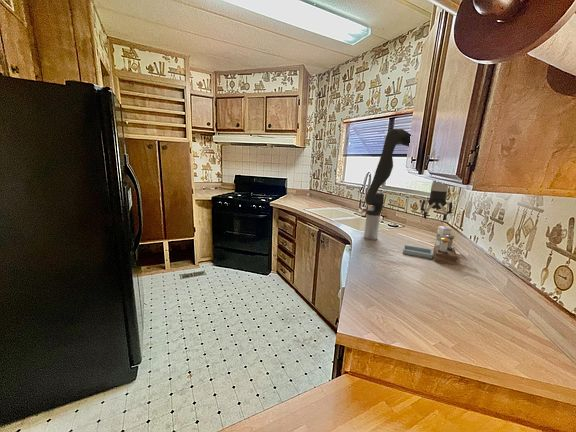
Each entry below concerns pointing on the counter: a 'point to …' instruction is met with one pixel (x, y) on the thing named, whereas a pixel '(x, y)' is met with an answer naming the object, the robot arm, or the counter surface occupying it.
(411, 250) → the tray
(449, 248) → the pin
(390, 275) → the counter surface
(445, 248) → the pin
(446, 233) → the syrup box
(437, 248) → the wooden socket block
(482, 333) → the counter surface
